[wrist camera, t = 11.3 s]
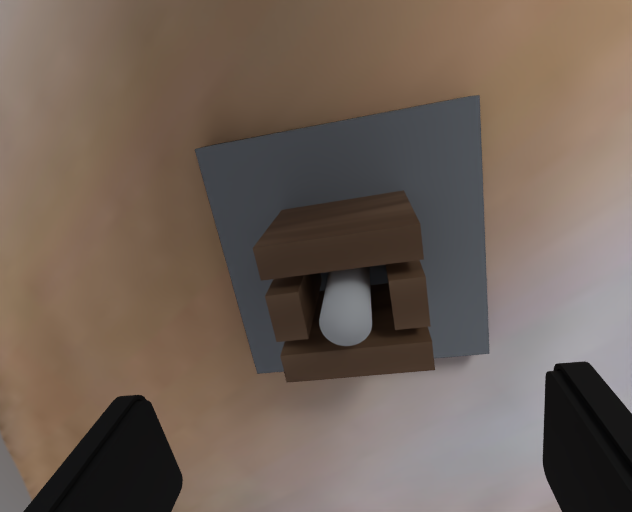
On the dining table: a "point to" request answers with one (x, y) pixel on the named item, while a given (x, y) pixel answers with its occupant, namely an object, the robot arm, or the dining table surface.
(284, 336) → the wooden block stack
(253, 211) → the stand
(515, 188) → the dining table surface
